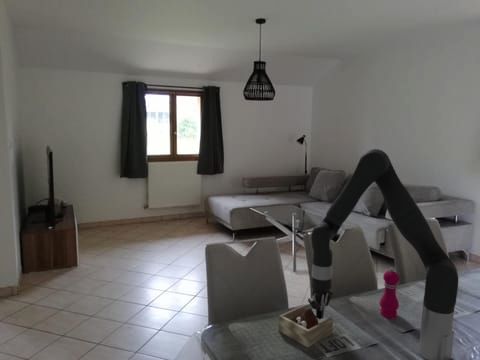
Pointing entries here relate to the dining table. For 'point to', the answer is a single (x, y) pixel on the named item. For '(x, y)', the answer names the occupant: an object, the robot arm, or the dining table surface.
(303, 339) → the birch holder
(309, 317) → the poop emoji
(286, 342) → the dining table surface
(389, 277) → the pepper mill
